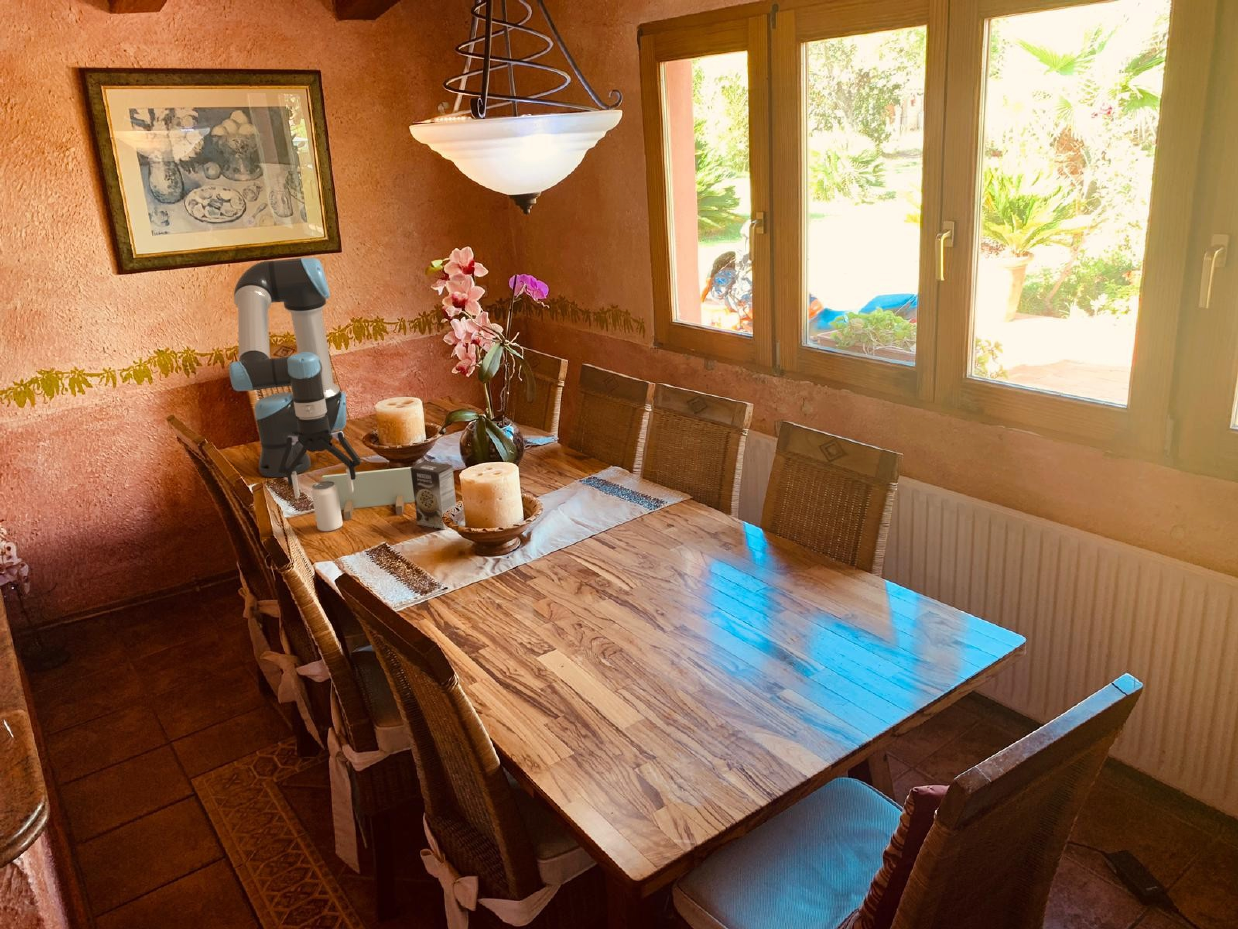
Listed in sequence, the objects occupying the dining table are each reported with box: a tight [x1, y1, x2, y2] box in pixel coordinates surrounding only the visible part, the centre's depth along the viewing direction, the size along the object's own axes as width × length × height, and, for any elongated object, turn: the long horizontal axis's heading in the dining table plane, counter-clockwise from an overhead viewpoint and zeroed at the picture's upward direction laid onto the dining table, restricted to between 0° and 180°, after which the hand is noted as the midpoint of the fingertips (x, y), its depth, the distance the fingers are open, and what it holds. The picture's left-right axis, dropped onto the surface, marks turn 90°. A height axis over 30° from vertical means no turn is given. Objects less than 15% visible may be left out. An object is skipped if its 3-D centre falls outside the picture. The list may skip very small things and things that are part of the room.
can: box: [311, 480, 344, 533], centre depth 241 cm, size 6×6×12 cm
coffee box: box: [410, 460, 457, 530], centre depth 239 cm, size 9×6×16 cm
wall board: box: [321, 466, 415, 521], centre depth 250 cm, size 9×26×10 cm, turn 100°
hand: (324, 494), depth 239 cm, fingers open, 13 cm apart
